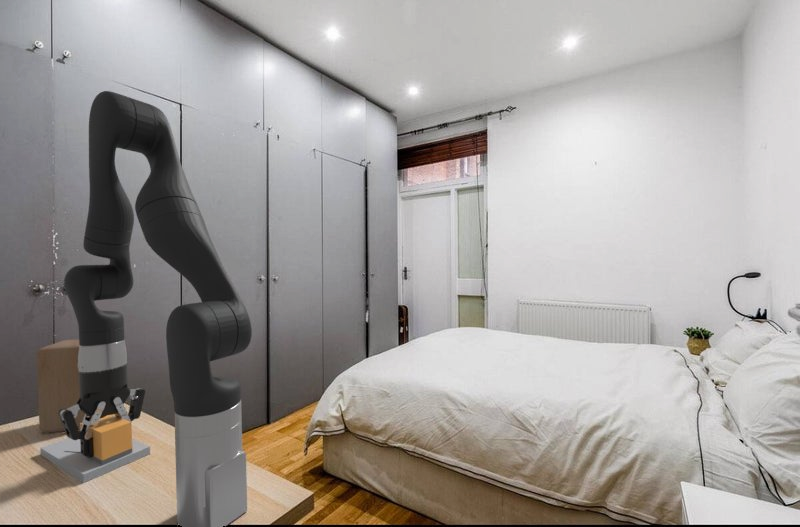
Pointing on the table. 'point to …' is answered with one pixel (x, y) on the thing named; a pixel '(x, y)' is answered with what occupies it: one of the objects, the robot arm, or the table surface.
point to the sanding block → (111, 439)
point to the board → (83, 467)
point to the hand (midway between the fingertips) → (106, 449)
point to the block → (58, 383)
